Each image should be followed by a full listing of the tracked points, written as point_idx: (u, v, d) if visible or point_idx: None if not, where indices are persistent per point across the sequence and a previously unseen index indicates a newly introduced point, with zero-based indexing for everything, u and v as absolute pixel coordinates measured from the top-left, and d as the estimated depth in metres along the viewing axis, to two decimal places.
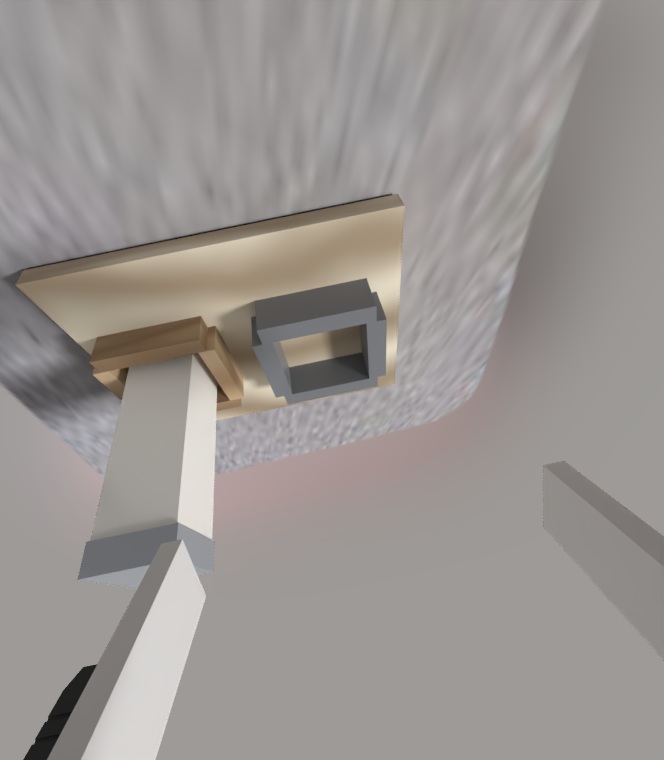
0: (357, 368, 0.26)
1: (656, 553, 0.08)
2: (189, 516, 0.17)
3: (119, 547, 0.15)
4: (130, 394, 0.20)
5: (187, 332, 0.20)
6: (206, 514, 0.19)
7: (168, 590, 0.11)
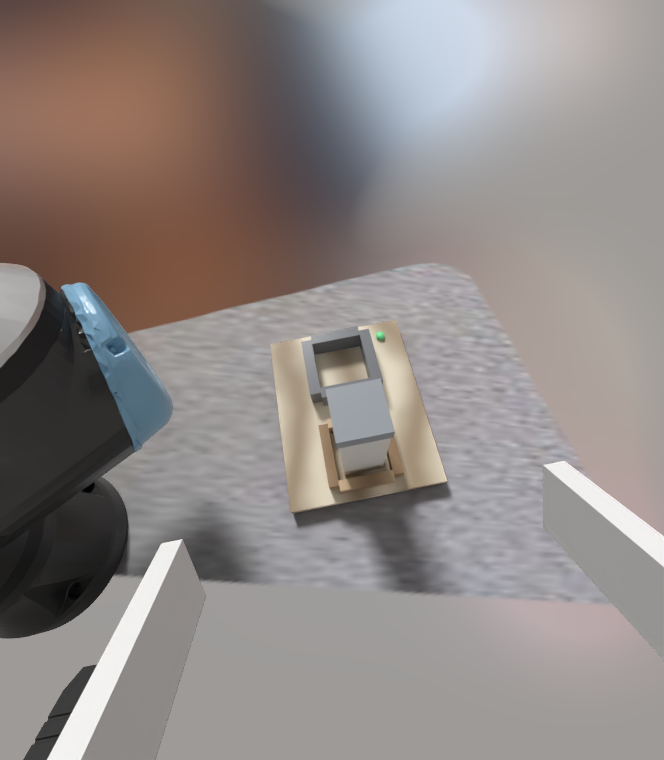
0: (360, 344, 0.41)
1: (656, 553, 0.08)
2: None
3: None
4: None
5: None
6: None
7: (168, 590, 0.11)
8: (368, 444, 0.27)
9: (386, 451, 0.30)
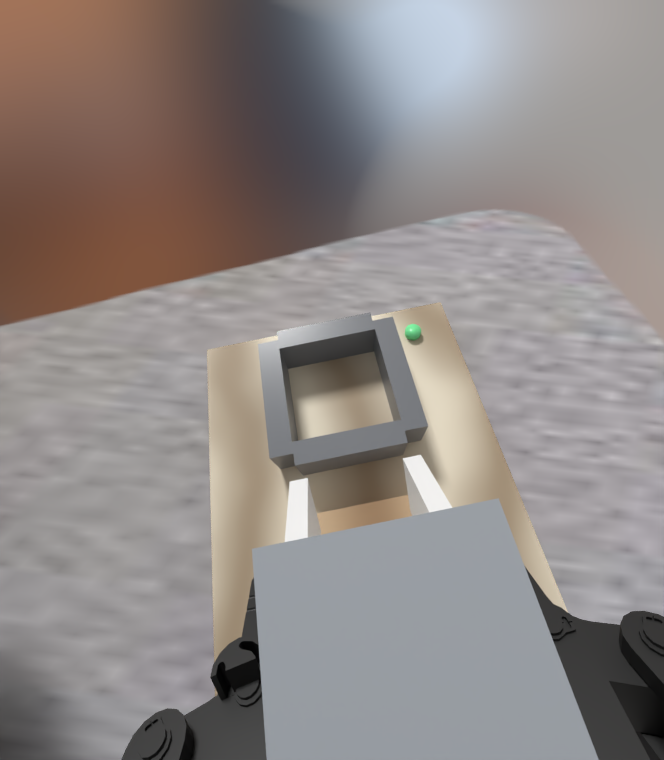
0: (377, 348, 0.21)
1: None
2: None
3: None
4: None
5: None
6: None
7: (310, 513, 0.13)
8: None
9: None
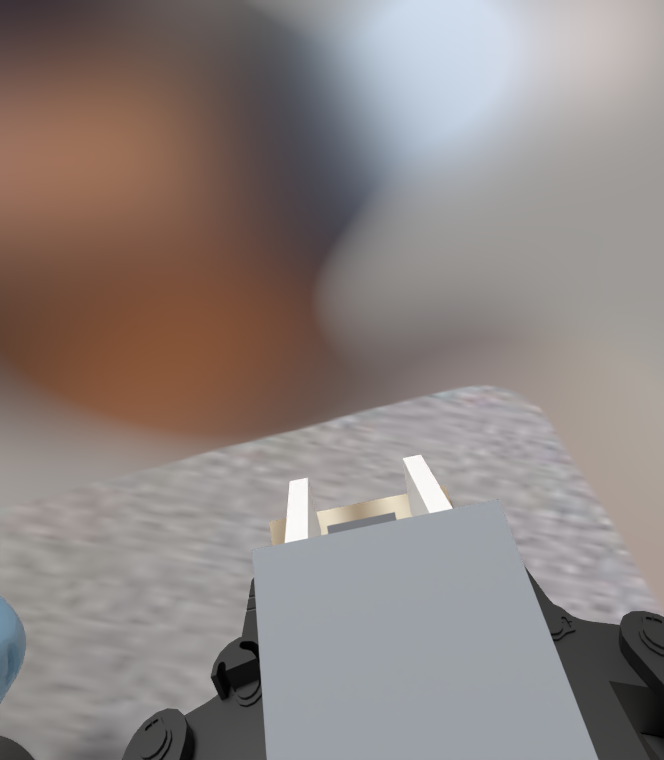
0: None
1: None
2: None
3: None
4: None
5: None
6: None
7: (310, 513, 0.13)
8: None
9: None
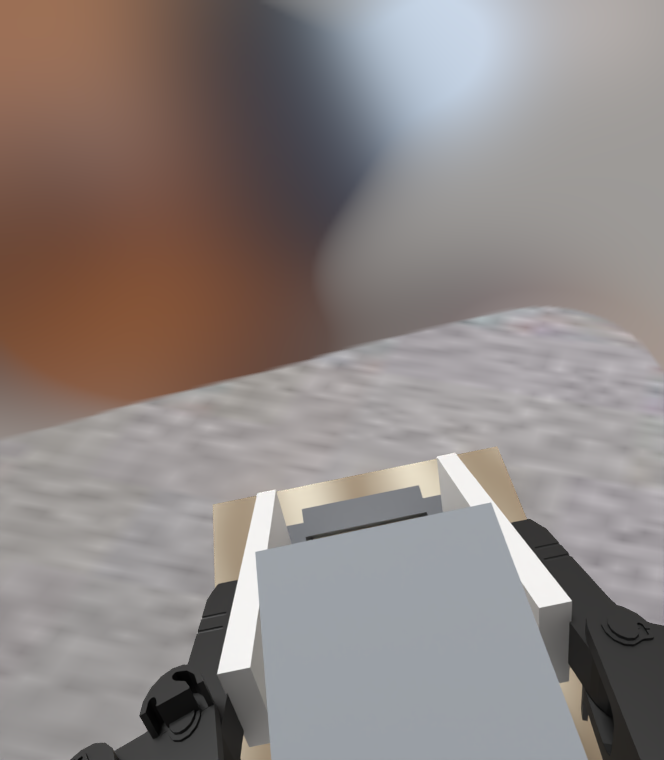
0: None
1: None
2: None
3: None
4: None
5: None
6: None
7: (274, 527, 0.12)
8: None
9: None
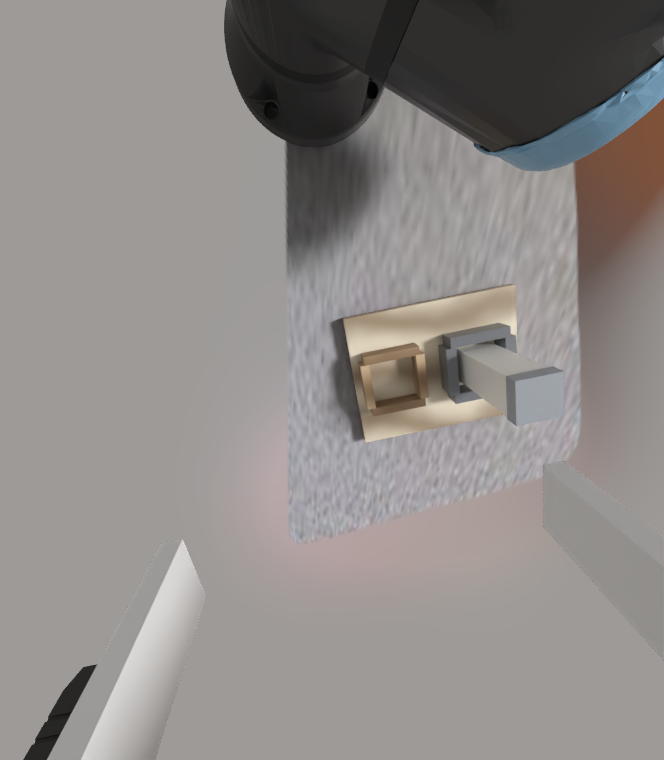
0: None
1: (656, 553, 0.08)
2: None
3: (527, 374, 0.30)
4: (471, 354, 0.38)
5: (410, 345, 0.40)
6: None
7: (168, 590, 0.11)
8: (502, 397, 0.32)
9: (484, 399, 0.36)
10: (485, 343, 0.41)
